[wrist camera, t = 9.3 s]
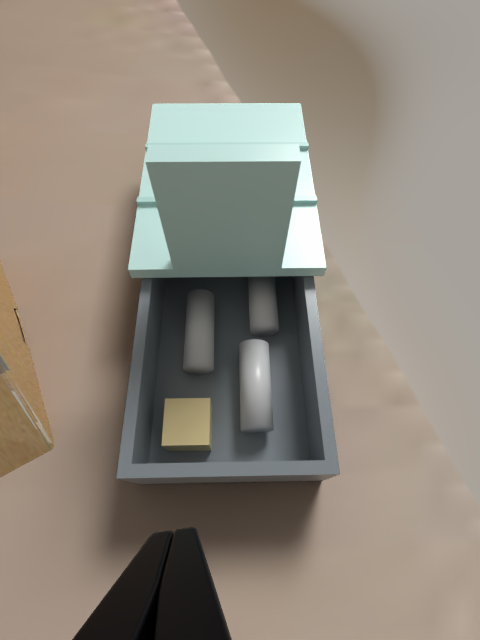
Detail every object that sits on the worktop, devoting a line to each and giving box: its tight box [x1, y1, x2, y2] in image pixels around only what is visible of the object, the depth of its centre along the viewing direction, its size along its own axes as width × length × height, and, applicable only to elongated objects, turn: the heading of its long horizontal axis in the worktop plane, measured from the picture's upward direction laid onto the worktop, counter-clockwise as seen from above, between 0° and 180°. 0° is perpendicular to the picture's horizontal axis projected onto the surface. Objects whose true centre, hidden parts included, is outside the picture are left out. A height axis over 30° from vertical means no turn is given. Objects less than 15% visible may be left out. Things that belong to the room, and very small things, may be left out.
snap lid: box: [128, 103, 326, 278], centre depth 21 cm, size 15×11×8 cm
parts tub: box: [116, 276, 340, 484], centre depth 21 cm, size 14×10×4 cm
